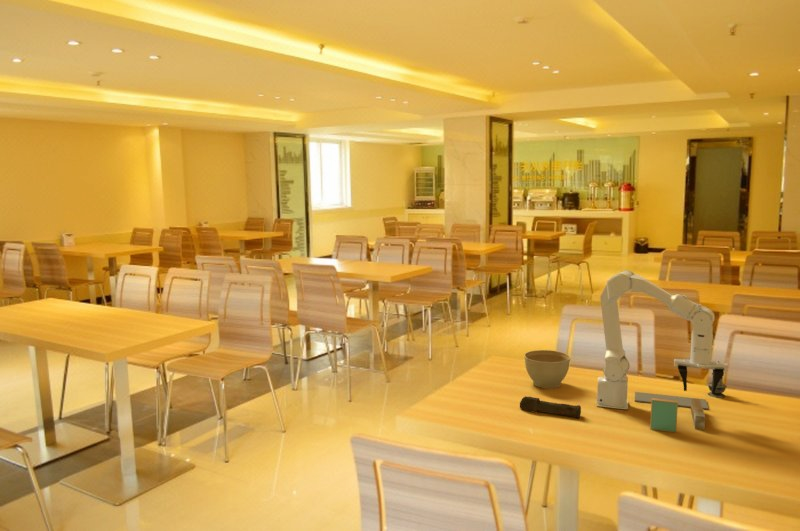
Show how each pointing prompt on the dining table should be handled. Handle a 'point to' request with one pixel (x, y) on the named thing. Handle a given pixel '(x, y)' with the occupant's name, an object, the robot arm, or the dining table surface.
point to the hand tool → (549, 407)
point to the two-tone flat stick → (697, 414)
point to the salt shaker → (717, 389)
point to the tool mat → (681, 400)
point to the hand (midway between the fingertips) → (699, 391)
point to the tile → (663, 415)
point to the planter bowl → (547, 367)
